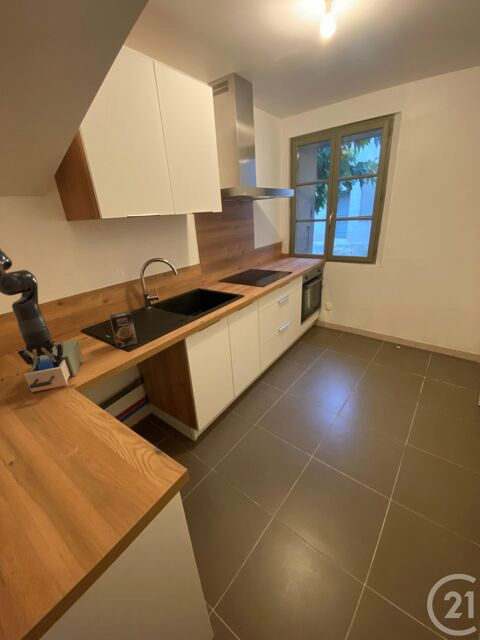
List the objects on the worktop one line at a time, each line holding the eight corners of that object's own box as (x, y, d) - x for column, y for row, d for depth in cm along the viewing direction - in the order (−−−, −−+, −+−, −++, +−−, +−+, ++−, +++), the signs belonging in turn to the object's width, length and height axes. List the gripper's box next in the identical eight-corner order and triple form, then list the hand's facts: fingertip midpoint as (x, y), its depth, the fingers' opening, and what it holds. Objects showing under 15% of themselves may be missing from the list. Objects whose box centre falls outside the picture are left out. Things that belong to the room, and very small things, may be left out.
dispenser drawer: (63, 392, 92) (56, 375, 89) (25, 400, 89) (17, 382, 86) (76, 367, 108) (71, 351, 105) (45, 372, 105) (39, 356, 102)
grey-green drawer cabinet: (75, 376, 103) (68, 356, 100) (38, 383, 100) (30, 362, 97) (83, 359, 116) (77, 340, 113) (51, 364, 113) (44, 346, 110)
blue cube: (41, 375, 95) (37, 365, 93) (45, 369, 99) (41, 359, 97) (54, 373, 96) (51, 362, 94) (58, 367, 100) (55, 357, 98)
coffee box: (118, 350, 122) (110, 318, 116) (116, 345, 127) (108, 314, 121) (138, 345, 126) (131, 313, 121) (135, 340, 132) (128, 310, 126)
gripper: (60, 321, 96) (74, 362, 102) (15, 328, 92) (31, 369, 99) (53, 329, 89) (68, 372, 96) (4, 336, 86) (23, 380, 92)
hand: (49, 370), depth 97 cm, fingers closed on blue cube, 4 cm apart
